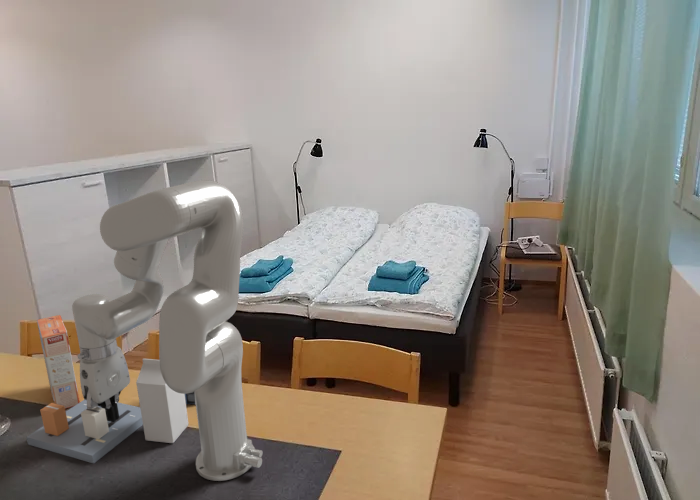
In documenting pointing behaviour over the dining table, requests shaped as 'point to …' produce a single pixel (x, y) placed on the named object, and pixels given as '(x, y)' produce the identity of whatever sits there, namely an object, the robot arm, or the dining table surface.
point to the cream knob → (95, 422)
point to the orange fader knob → (54, 419)
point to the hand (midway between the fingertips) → (111, 419)
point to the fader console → (85, 446)
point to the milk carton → (160, 405)
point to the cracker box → (58, 361)
